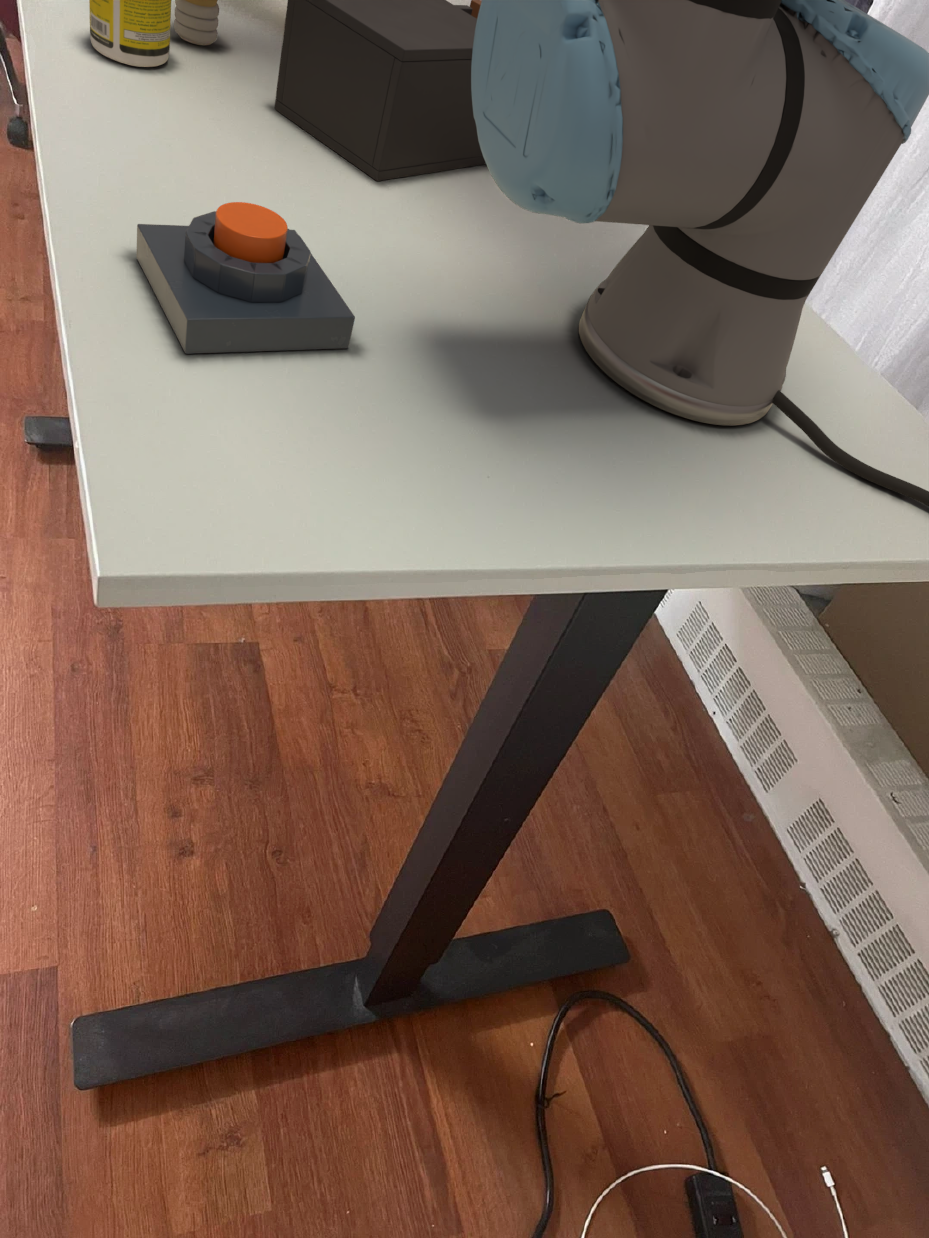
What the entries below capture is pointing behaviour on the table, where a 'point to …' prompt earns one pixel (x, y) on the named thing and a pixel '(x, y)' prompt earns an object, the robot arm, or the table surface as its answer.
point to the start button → (250, 232)
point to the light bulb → (197, 20)
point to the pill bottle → (131, 30)
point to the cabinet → (382, 82)
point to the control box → (240, 293)
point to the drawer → (471, 8)
